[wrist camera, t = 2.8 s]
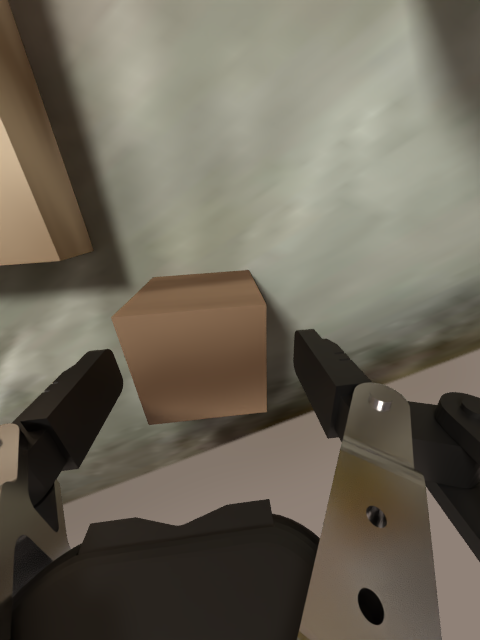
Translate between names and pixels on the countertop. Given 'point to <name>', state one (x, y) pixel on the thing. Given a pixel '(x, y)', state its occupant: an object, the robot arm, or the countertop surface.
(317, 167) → the countertop surface
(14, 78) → the maple block
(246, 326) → the walnut cube
